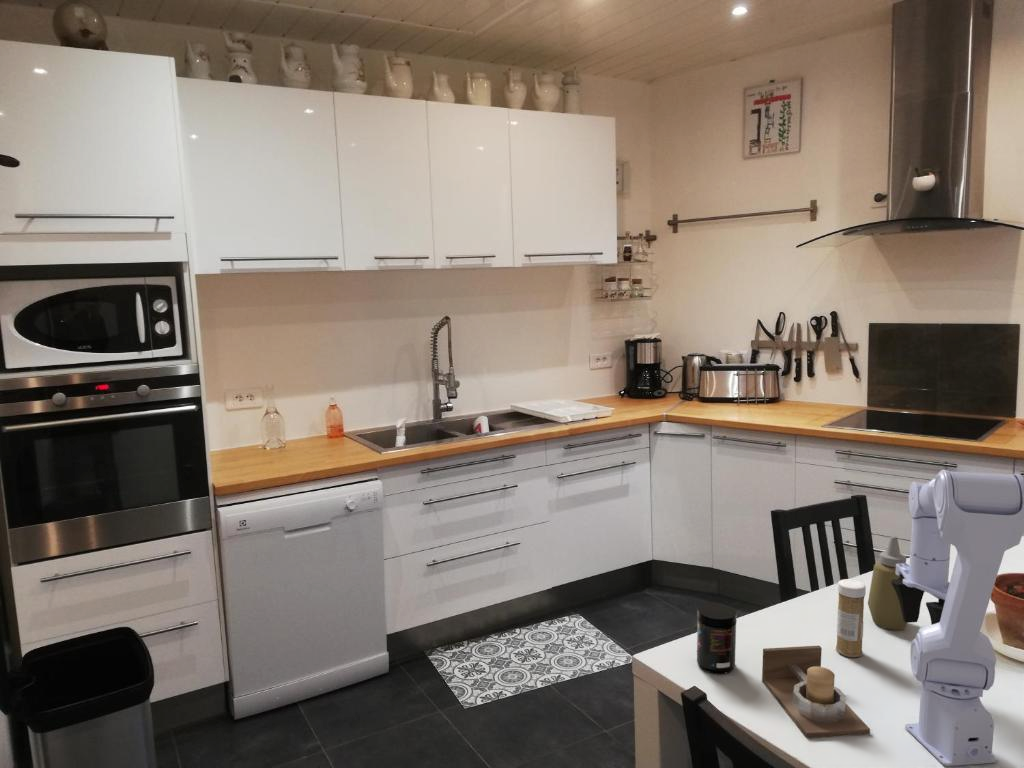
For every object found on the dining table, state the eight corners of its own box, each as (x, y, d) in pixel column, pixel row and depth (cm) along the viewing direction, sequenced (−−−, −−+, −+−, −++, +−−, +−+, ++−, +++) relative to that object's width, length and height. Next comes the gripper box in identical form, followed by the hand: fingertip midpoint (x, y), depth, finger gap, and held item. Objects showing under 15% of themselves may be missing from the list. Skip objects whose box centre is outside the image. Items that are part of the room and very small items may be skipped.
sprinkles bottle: (867, 653, 135) (871, 584, 133) (853, 661, 132) (856, 590, 130) (844, 644, 138) (847, 576, 137) (830, 650, 136) (833, 581, 134)
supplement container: (722, 654, 135) (723, 600, 134) (742, 672, 129) (744, 616, 128) (689, 659, 134) (690, 605, 132) (708, 678, 127) (709, 621, 126)
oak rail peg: (838, 714, 115) (839, 678, 114) (814, 716, 114) (815, 680, 113) (824, 700, 119) (825, 665, 118) (800, 702, 118) (802, 667, 117)
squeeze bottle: (921, 628, 144) (927, 541, 142) (891, 636, 141) (896, 547, 139) (887, 612, 151) (891, 528, 149) (857, 619, 149) (861, 533, 146)
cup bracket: (869, 733, 111) (871, 696, 110) (806, 738, 110) (807, 700, 109) (817, 678, 127) (819, 645, 126) (761, 681, 126) (763, 648, 125)
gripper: (880, 540, 128) (876, 614, 130) (936, 573, 113) (930, 655, 115) (918, 538, 128) (914, 611, 130) (978, 570, 114) (972, 652, 116)
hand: (924, 632), depth 123 cm, fingers open, 7 cm apart
